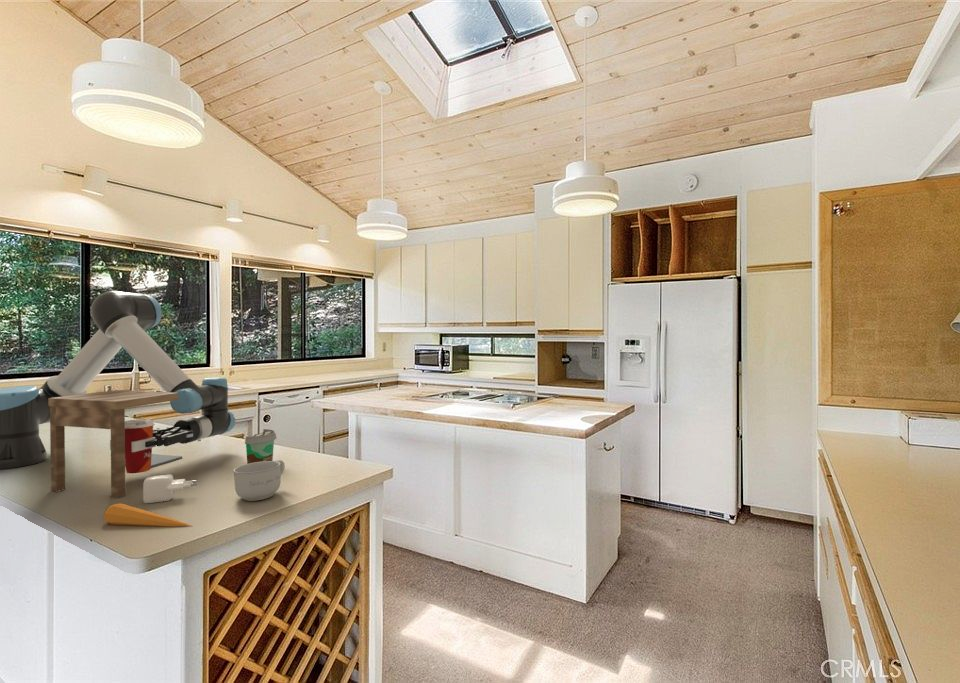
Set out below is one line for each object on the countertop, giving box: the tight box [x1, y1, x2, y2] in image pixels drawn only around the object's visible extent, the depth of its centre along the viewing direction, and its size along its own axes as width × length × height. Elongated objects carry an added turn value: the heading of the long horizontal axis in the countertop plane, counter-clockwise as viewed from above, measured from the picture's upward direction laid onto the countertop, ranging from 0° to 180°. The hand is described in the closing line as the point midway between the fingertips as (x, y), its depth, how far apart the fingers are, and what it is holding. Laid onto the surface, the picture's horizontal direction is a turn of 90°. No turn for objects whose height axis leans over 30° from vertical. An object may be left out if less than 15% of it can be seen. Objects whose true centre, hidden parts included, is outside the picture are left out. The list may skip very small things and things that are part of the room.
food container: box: [244, 428, 277, 464], centre depth 149 cm, size 12×6×10 cm, turn 179°
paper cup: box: [125, 418, 156, 474], centre depth 135 cm, size 8×8×14 cm
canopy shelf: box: [48, 389, 178, 499], centre depth 130 cm, size 22×18×24 cm
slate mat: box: [125, 453, 183, 469], centre depth 152 cm, size 12×12×1 cm
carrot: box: [103, 502, 192, 527], centre depth 103 cm, size 20×4×4 cm, turn 84°
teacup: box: [232, 459, 286, 502], centre depth 122 cm, size 14×11×8 cm
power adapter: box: [142, 474, 199, 504], centre depth 118 cm, size 11×5×6 cm, turn 115°
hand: (122, 446), depth 130 cm, fingers closed on paper cup, 7 cm apart
